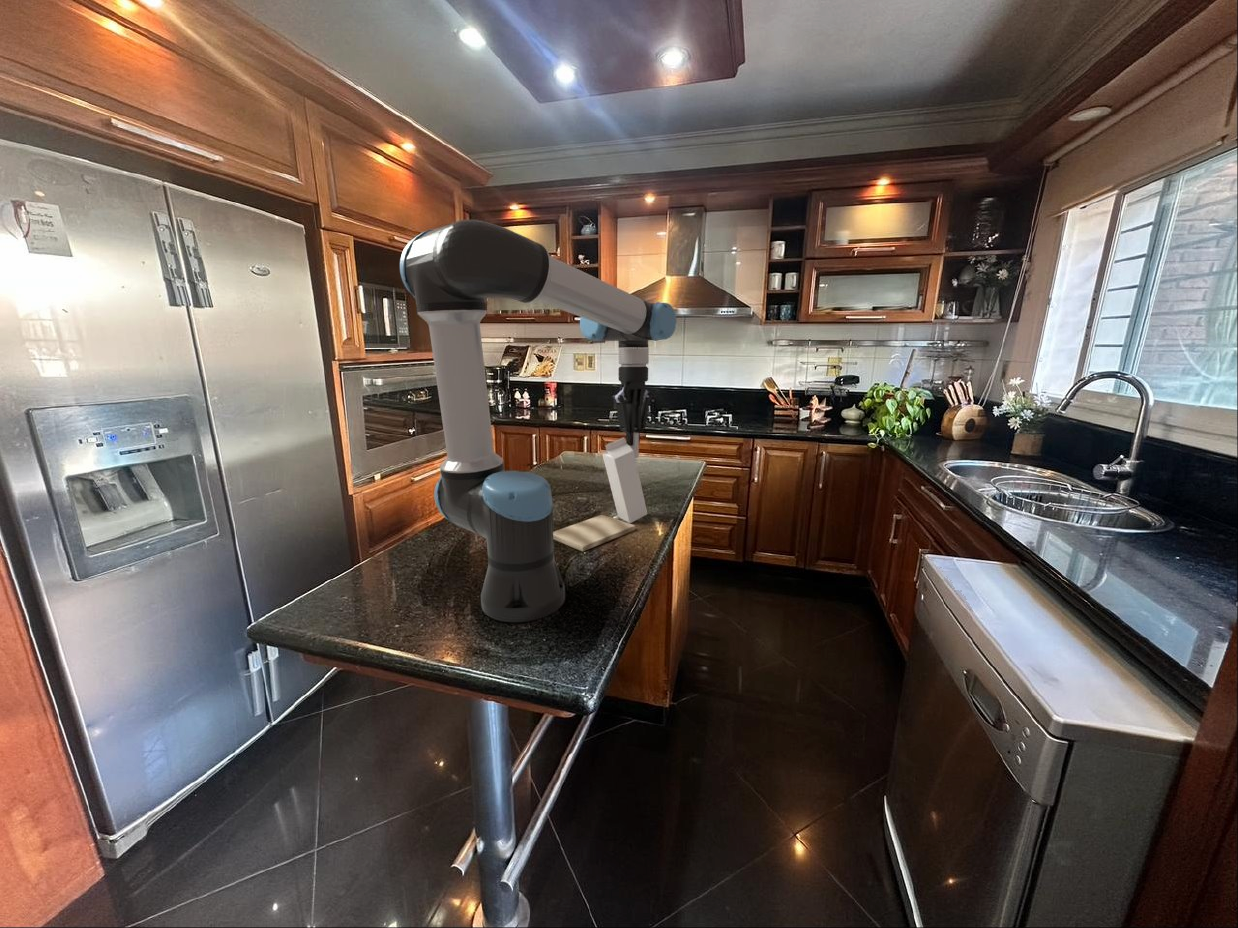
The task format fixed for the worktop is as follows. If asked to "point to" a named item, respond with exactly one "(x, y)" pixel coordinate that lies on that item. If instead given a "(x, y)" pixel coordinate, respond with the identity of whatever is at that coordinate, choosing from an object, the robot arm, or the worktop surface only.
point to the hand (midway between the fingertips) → (632, 457)
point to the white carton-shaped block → (624, 481)
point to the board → (592, 532)
